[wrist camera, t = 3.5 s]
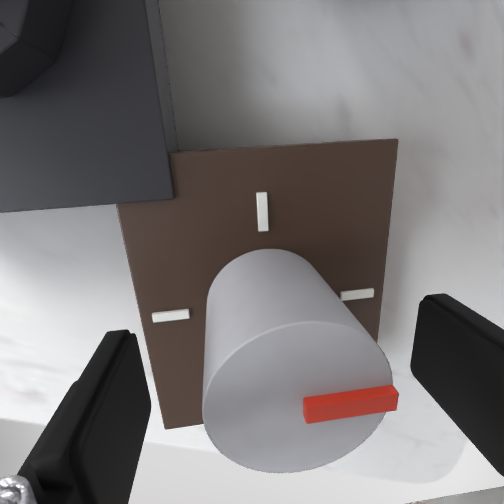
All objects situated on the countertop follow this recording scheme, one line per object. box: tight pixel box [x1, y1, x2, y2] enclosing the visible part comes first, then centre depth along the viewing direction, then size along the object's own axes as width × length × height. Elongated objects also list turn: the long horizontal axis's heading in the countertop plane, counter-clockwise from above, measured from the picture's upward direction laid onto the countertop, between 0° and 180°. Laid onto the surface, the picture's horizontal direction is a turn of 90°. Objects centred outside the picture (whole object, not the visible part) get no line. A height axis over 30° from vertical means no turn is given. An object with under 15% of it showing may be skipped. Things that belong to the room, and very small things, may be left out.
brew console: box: [116, 139, 398, 429], centre depth 13 cm, size 12×10×3 cm
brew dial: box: [202, 249, 399, 473], centre depth 9 cm, size 5×5×5 cm
